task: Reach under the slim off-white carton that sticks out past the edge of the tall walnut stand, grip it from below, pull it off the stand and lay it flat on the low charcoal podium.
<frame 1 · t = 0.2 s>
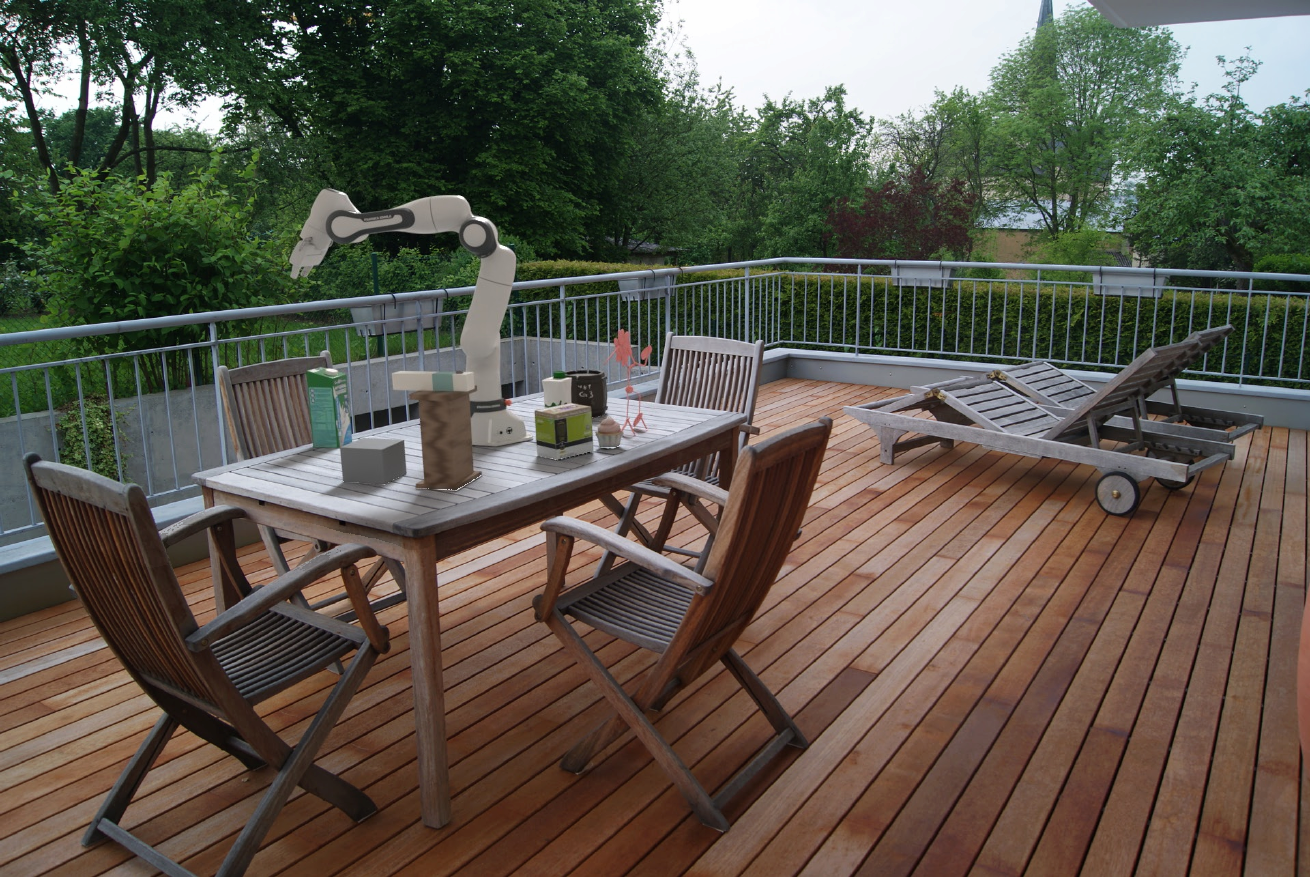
hand: (298, 277, 298), 54 cm above the table, tool tilted 30°, fingers open, 8 cm apart
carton: (433, 389, 257), point 26 cm above the table, touching stand
cupcake: (609, 447, 301), on the table
stand: (449, 482, 262), on the table
dark brown pot: (583, 414, 354), on the table
tea box: (565, 455, 293), on the table
pink stick figure: (623, 431, 324), on the table
soya milk: (558, 430, 327), on the table
milk carton: (333, 444, 310), on the table
podium: (375, 478, 268), on the table
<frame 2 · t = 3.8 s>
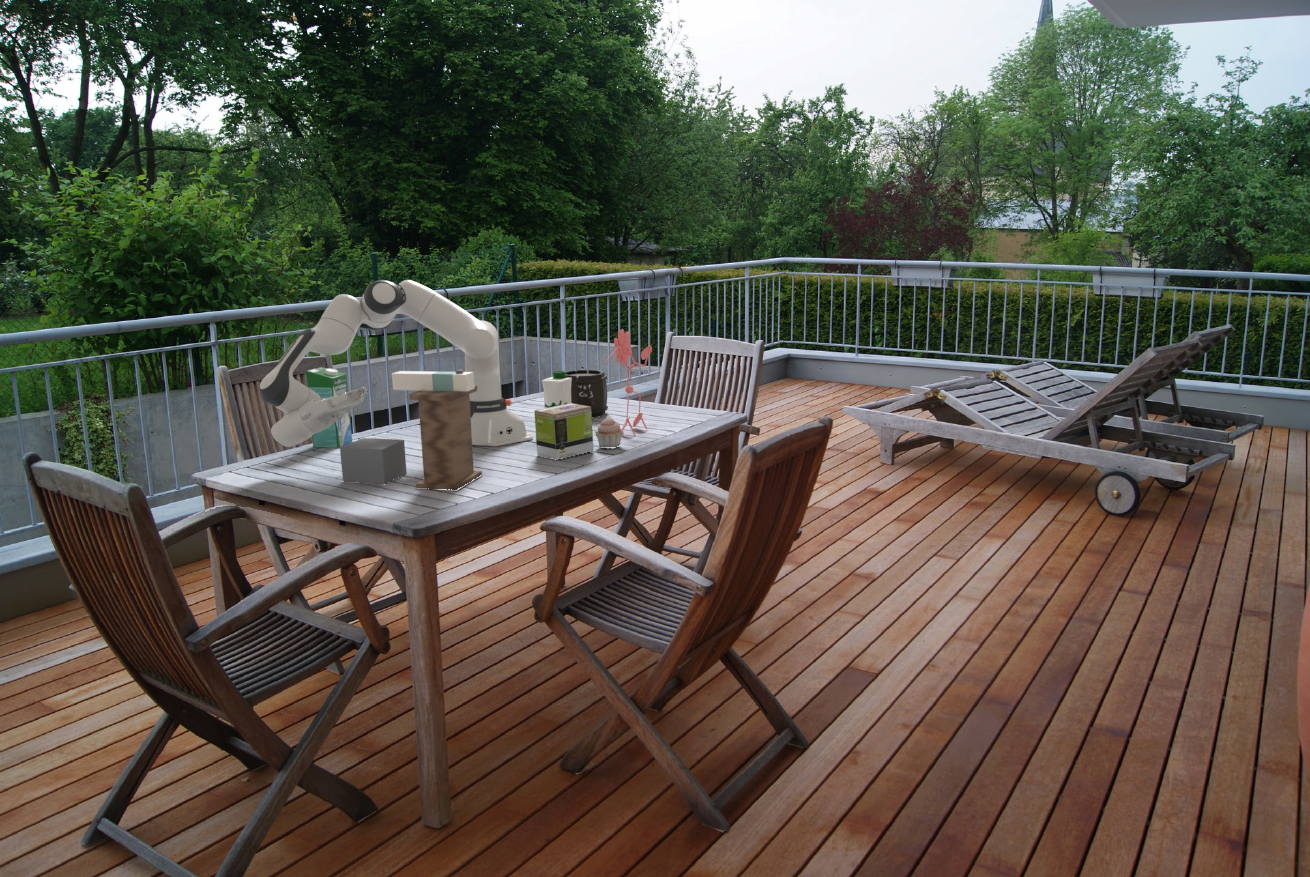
hand: (356, 392, 264), 25 cm above the table, tool pointing upward, fingers open, 8 cm apart
nothing on the table moved.
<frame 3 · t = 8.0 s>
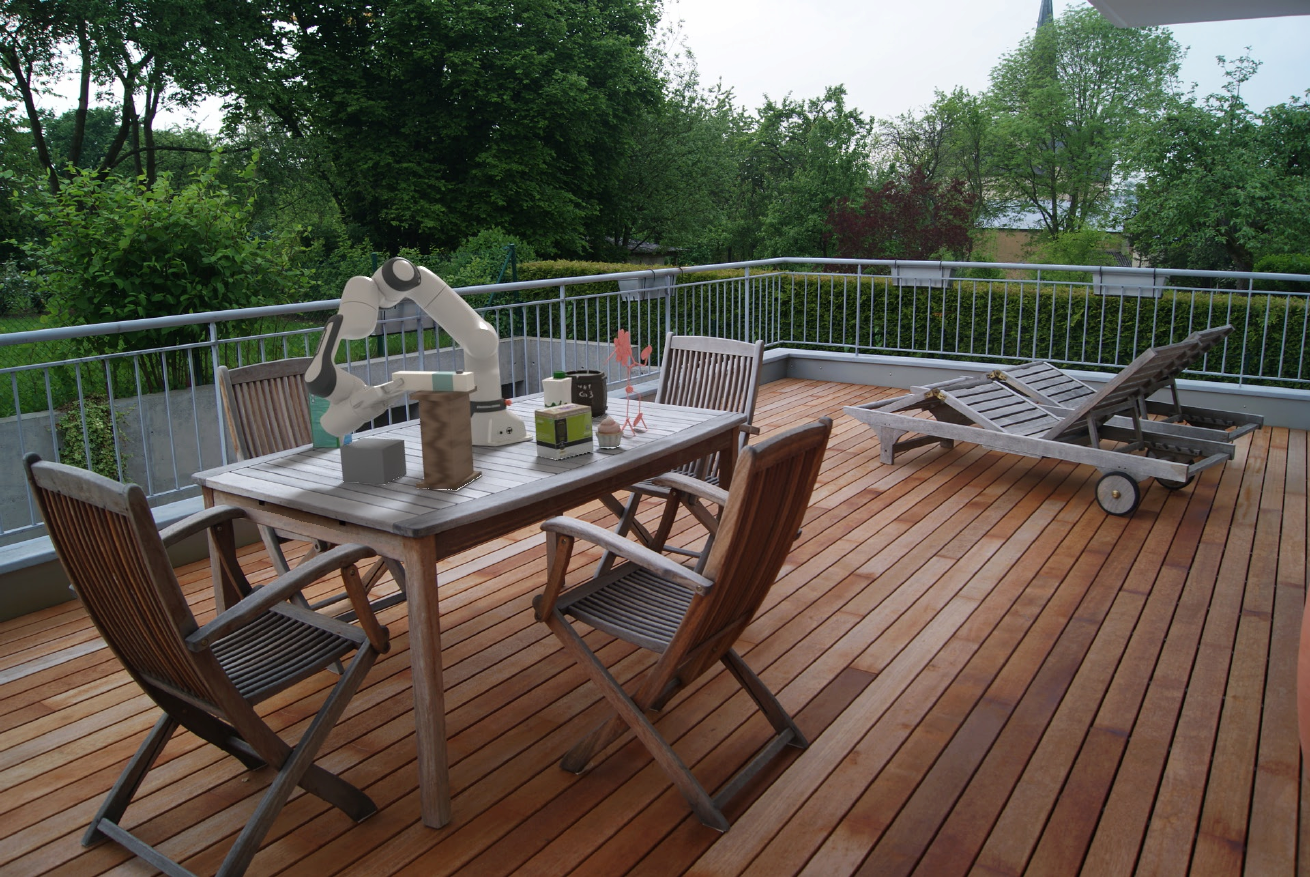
hand: (407, 378, 259), 29 cm above the table, tool pointing upward, fingers closed on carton, 4 cm apart
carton: (433, 389, 257), point 26 cm above the table, touching gripper, stand
everything else where it was.
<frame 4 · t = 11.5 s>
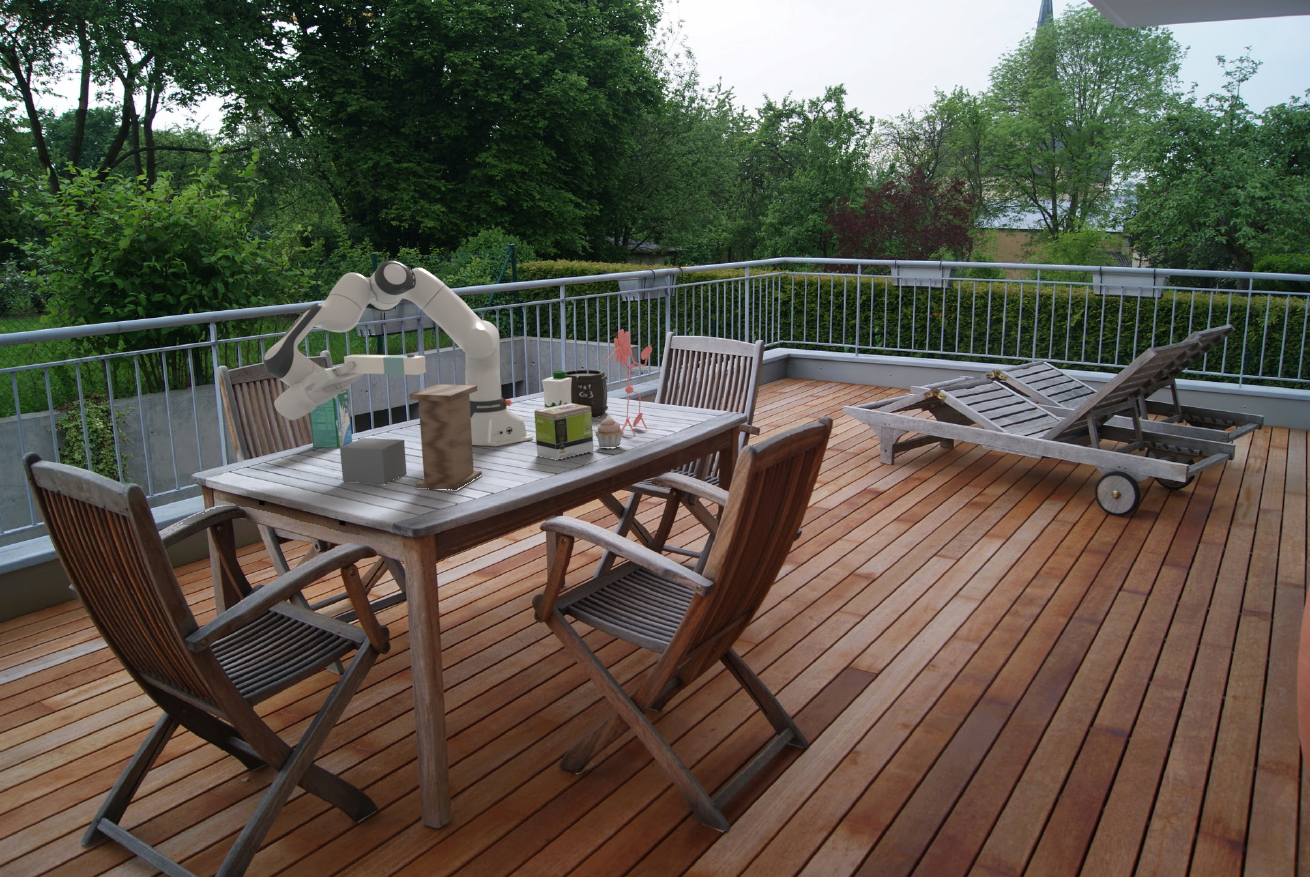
hand: (359, 362, 261), 33 cm above the table, tool pointing upward, fingers closed on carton, 4 cm apart
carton: (385, 372, 260), point 30 cm above the table, touching gripper
everything else where it was.
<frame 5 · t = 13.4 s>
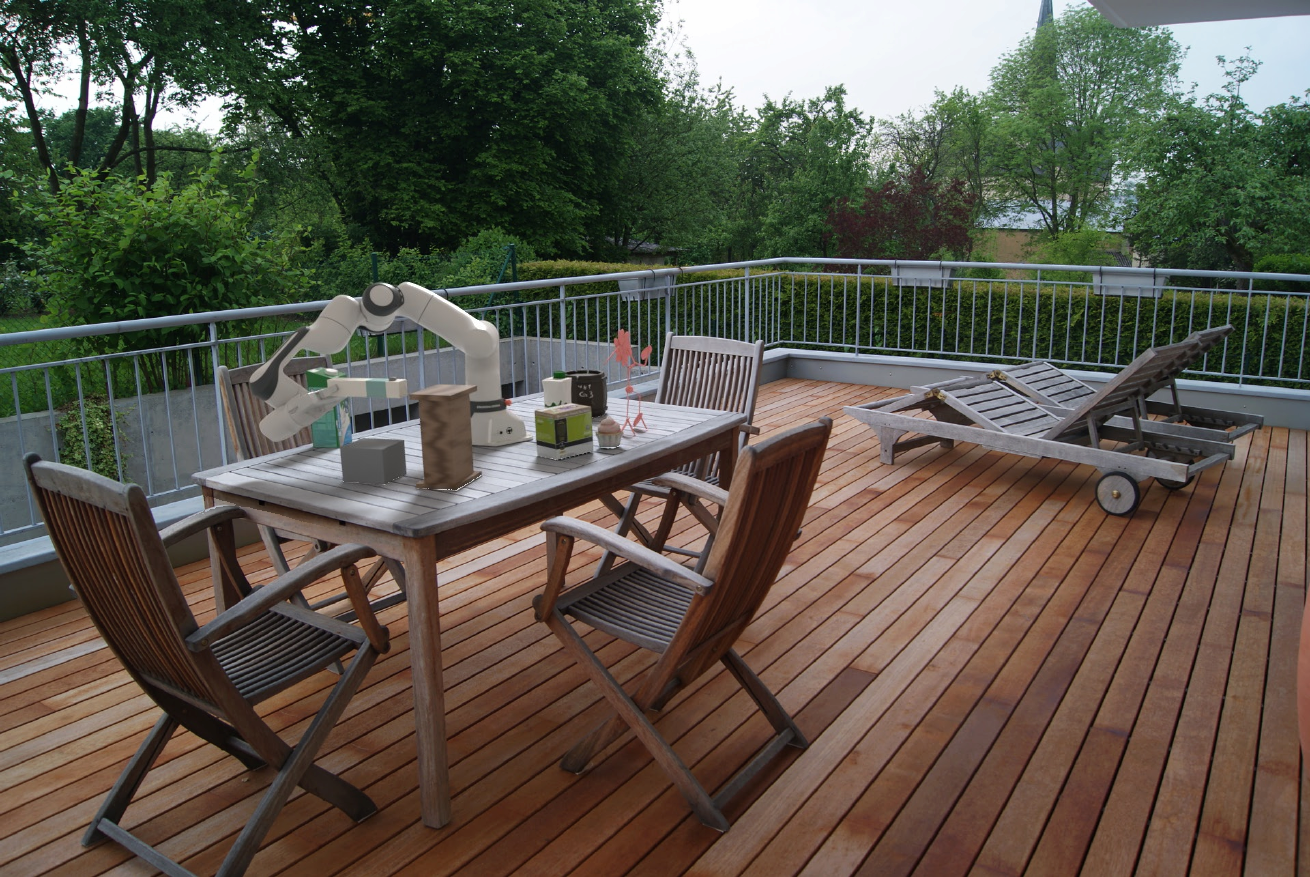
hand: (342, 385, 264), 26 cm above the table, tool pointing upward, fingers closed on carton, 4 cm apart
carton: (368, 395, 263), point 24 cm above the table, touching gripper
everything else where it was.
when the fingers open (18 cm above the table, at t = 15.2 s): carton drops 6 cm, resting on podium.
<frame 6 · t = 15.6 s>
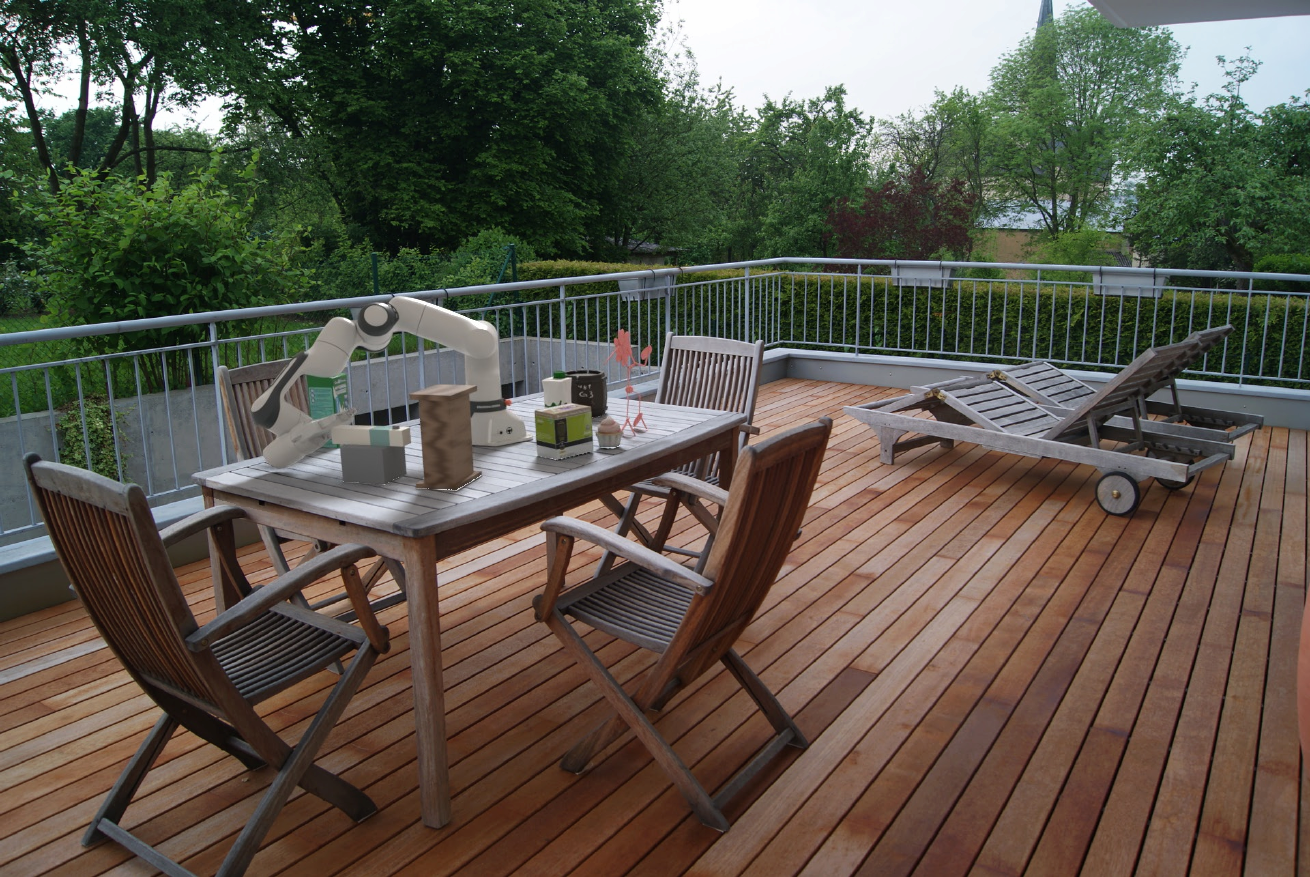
hand: (345, 413, 266), 18 cm above the table, tool pointing upward, fingers open, 8 cm apart
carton: (371, 443, 266), point 10 cm above the table, touching podium
everything else where it was.
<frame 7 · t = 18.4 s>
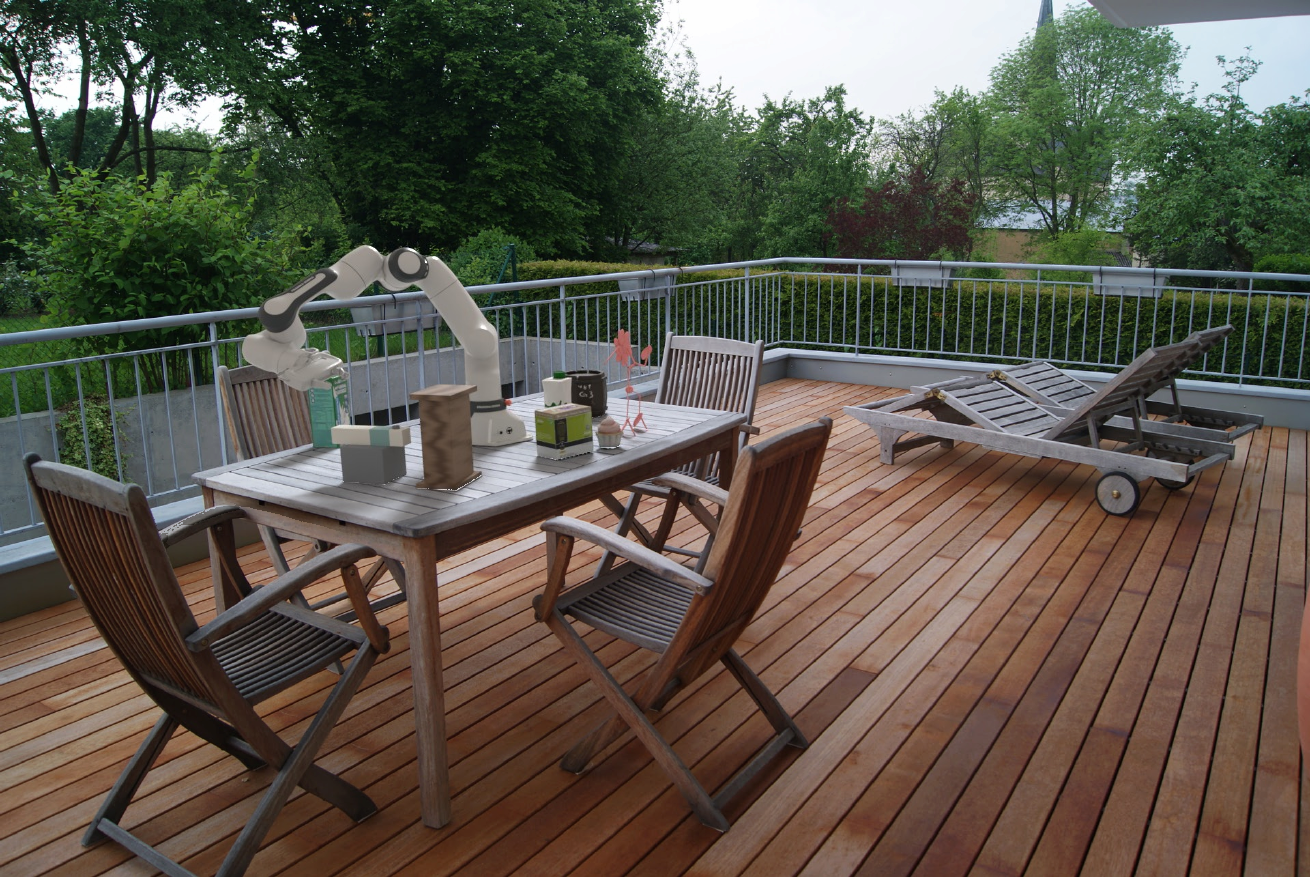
hand: (339, 381, 266), 27 cm above the table, tool tilted 70°, fingers open, 8 cm apart
nothing on the table moved.
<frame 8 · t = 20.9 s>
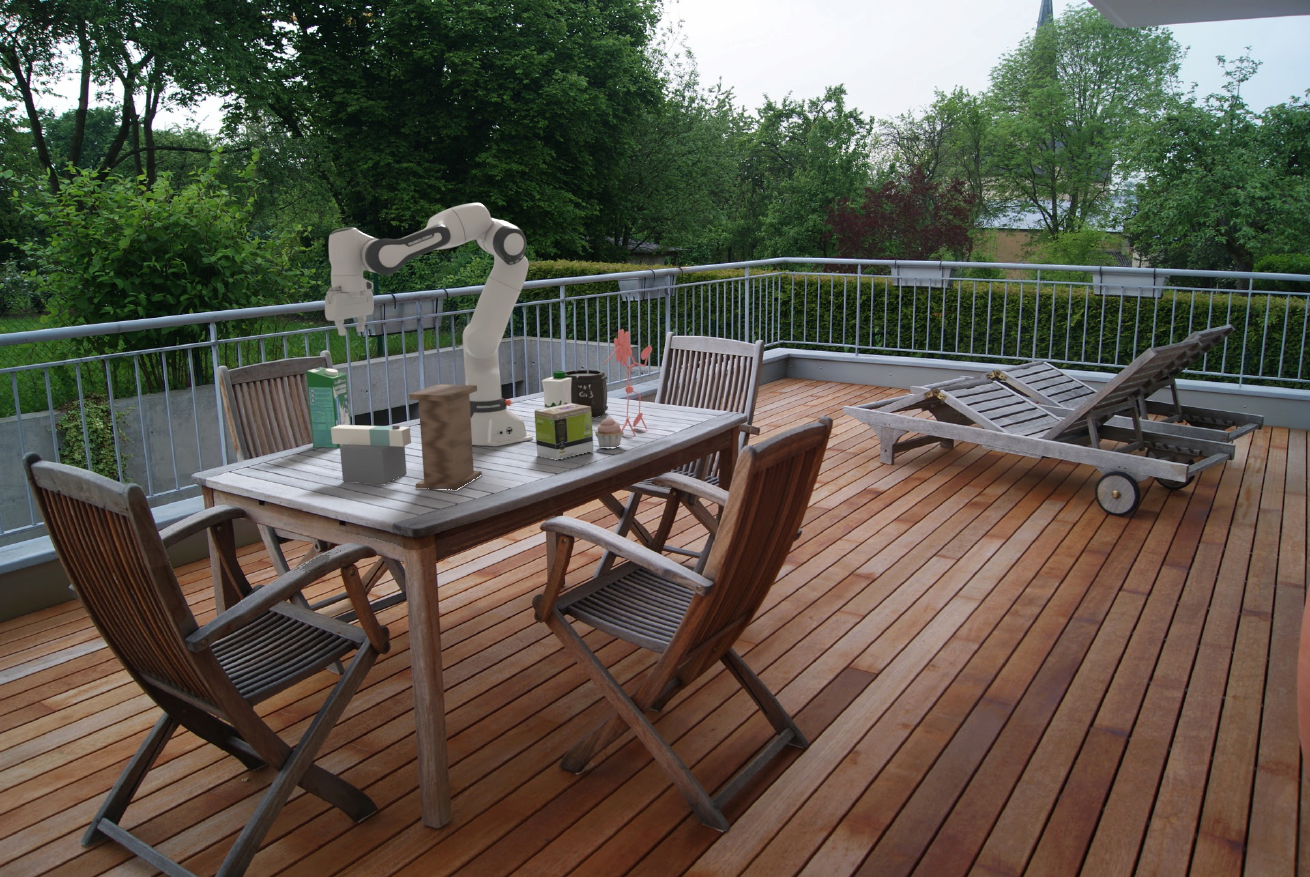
hand: (351, 333, 276), 39 cm above the table, tool pointing down, fingers open, 8 cm apart
nothing on the table moved.
at the end: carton inside the target area on the podium (0.3 cm from its centre), point 10.0 cm above the podium's base; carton touching podium; the gripper is holding nothing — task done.
